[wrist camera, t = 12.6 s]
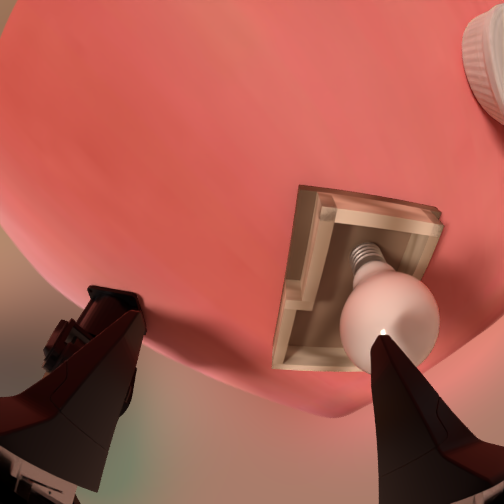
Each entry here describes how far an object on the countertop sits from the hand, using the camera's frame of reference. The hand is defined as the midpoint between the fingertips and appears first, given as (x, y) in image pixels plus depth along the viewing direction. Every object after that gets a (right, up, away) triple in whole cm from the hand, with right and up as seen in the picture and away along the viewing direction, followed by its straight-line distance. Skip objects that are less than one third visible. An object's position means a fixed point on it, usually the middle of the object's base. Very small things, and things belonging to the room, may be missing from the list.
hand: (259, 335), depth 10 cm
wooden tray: (+9, 0, +15) cm, 17 cm away
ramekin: (+20, +18, +2) cm, 27 cm away
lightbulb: (+9, +3, +12) cm, 15 cm away
